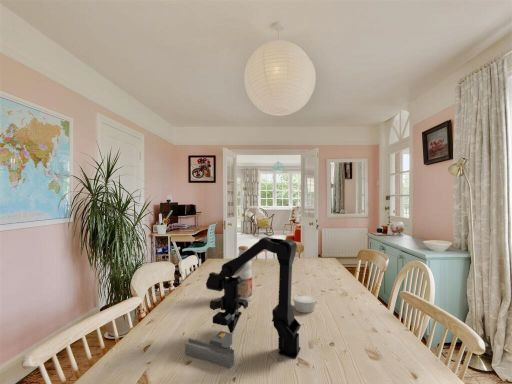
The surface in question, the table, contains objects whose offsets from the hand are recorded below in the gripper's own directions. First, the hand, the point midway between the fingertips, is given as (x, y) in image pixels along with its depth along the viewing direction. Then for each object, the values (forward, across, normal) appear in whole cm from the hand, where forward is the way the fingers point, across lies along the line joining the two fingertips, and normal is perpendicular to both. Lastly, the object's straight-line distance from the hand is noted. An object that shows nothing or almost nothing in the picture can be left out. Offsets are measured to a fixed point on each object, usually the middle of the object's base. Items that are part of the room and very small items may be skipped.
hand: (231, 332), depth 105 cm
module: (+2, +8, 0) cm, 8 cm away
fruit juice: (+2, -35, -12) cm, 37 cm away
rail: (+2, +14, 0) cm, 14 cm away
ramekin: (+2, -36, +21) cm, 42 cm away
